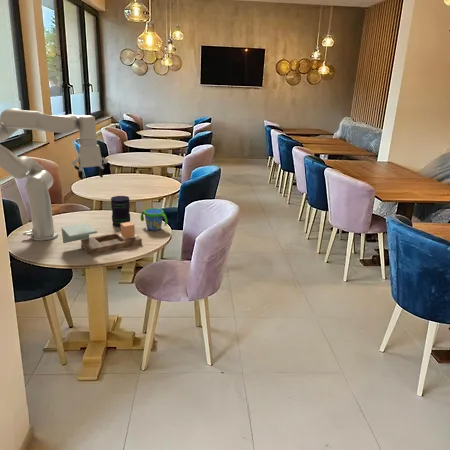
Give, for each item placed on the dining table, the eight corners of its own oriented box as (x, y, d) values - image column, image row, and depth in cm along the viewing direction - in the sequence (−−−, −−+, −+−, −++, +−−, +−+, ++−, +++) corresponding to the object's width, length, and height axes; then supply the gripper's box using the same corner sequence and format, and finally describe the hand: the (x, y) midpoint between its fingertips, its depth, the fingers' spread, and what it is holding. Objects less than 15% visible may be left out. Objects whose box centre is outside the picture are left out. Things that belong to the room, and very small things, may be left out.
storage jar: (108, 225, 225) (107, 199, 220) (118, 220, 234) (116, 194, 229) (125, 228, 222) (123, 201, 217) (133, 222, 231) (132, 196, 226)
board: (91, 255, 188) (90, 248, 187) (81, 245, 198) (80, 239, 197) (141, 244, 202) (141, 238, 201) (130, 235, 212) (129, 229, 211)
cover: (71, 251, 182) (69, 236, 180) (63, 242, 192) (61, 227, 189) (98, 246, 189) (96, 231, 186) (88, 237, 199) (87, 222, 196)
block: (125, 238, 200) (124, 226, 198) (121, 234, 204) (120, 223, 202) (134, 236, 203) (134, 224, 201) (130, 232, 207) (130, 221, 205)
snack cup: (171, 229, 223) (171, 211, 220) (159, 234, 215) (159, 216, 211) (149, 223, 230) (148, 206, 227) (136, 228, 222) (135, 210, 218)
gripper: (72, 144, 186) (75, 181, 192) (109, 142, 196) (111, 177, 202) (67, 142, 192) (70, 178, 198) (103, 140, 202) (105, 174, 208)
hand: (91, 177), depth 200 cm, fingers open, 9 cm apart
